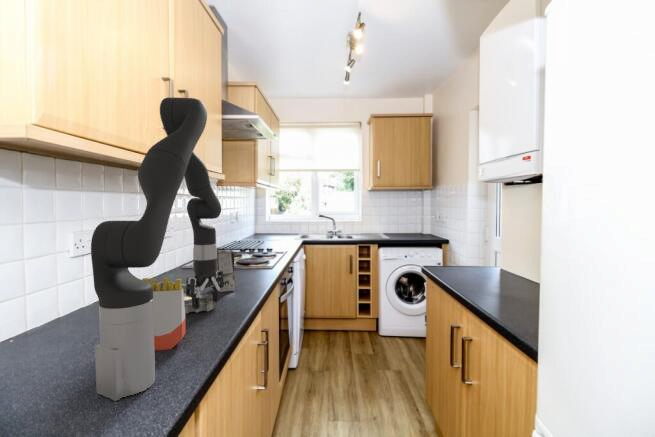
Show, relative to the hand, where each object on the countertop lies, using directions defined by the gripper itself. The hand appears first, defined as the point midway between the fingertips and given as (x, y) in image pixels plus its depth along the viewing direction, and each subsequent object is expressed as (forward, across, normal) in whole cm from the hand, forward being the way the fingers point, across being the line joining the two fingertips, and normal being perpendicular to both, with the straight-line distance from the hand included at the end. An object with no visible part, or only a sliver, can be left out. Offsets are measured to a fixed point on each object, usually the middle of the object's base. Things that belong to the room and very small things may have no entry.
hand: (206, 304), depth 111 cm
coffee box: (+2, +24, +14) cm, 28 cm away
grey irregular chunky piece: (+2, -1, +3) cm, 4 cm away
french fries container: (+2, -25, -10) cm, 27 cm away
